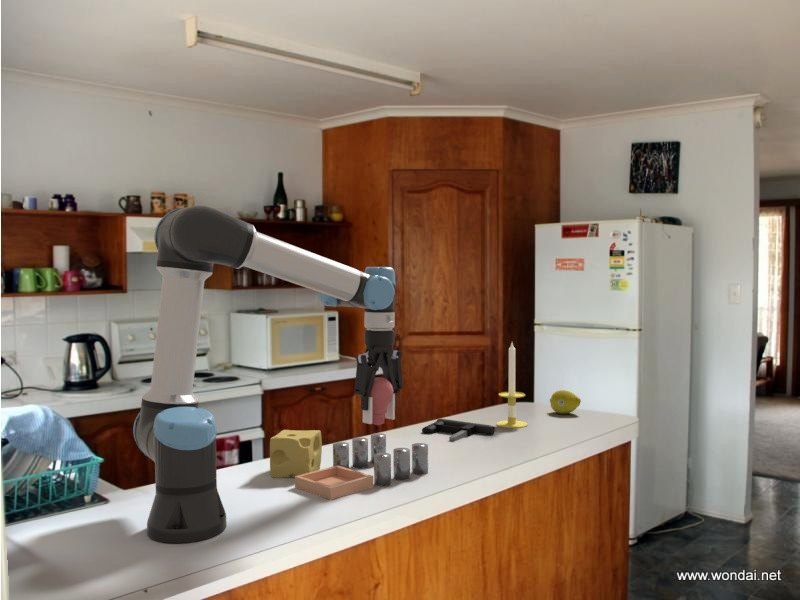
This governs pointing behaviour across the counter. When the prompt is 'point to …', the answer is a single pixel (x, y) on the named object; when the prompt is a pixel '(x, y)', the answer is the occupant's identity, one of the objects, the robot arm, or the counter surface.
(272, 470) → the cheese
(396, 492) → the counter surface
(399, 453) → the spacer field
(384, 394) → the light bulb
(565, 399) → the lemon
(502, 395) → the candle
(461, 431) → the black submachine gun
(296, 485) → the dish
